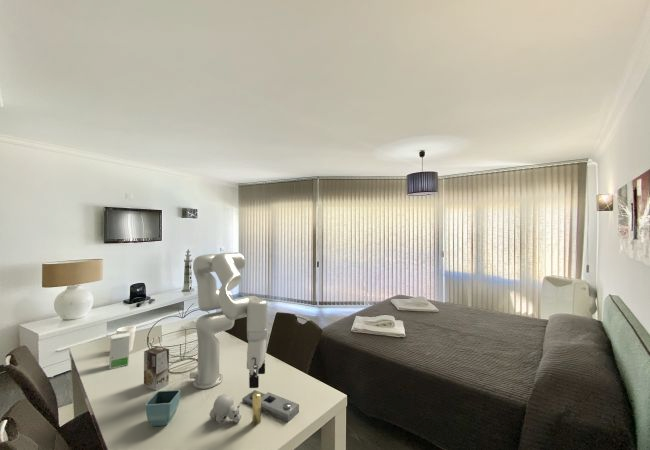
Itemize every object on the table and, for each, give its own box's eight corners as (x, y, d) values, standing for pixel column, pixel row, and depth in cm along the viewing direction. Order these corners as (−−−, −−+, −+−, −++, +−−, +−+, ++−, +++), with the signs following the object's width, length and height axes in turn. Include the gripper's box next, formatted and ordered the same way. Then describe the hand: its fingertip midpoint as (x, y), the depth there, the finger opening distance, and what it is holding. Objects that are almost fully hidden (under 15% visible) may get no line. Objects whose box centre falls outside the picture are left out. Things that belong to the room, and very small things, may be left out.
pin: (251, 424, 99) (251, 396, 99) (253, 419, 102) (253, 392, 102) (259, 424, 99) (259, 397, 99) (261, 419, 102) (261, 392, 102)
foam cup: (137, 350, 163) (137, 328, 164) (118, 355, 156) (118, 332, 157) (132, 345, 169) (133, 324, 170) (114, 350, 162) (115, 328, 163)
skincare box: (109, 369, 139) (110, 339, 140) (109, 364, 145) (110, 335, 145) (129, 364, 145) (130, 335, 145) (128, 360, 150) (129, 331, 150)
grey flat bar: (242, 401, 113) (242, 393, 113) (254, 393, 119) (254, 385, 119) (287, 422, 100) (287, 412, 101) (299, 411, 106) (299, 402, 107)
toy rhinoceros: (229, 436, 97) (237, 416, 96) (205, 416, 101) (212, 397, 100) (242, 422, 104) (249, 403, 103) (219, 404, 108) (225, 386, 107)
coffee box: (169, 383, 126) (169, 348, 127) (155, 391, 120) (156, 354, 121) (156, 379, 130) (157, 345, 131) (142, 386, 124) (143, 350, 125)
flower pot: (157, 414, 105) (157, 390, 105) (180, 412, 106) (181, 389, 106) (143, 430, 96) (144, 404, 97) (169, 429, 97) (170, 403, 97)
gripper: (253, 326, 110) (253, 369, 110) (239, 342, 93) (239, 393, 92) (272, 325, 110) (272, 369, 109) (261, 342, 93) (261, 393, 92)
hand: (257, 380), depth 101 cm, fingers open, 9 cm apart
